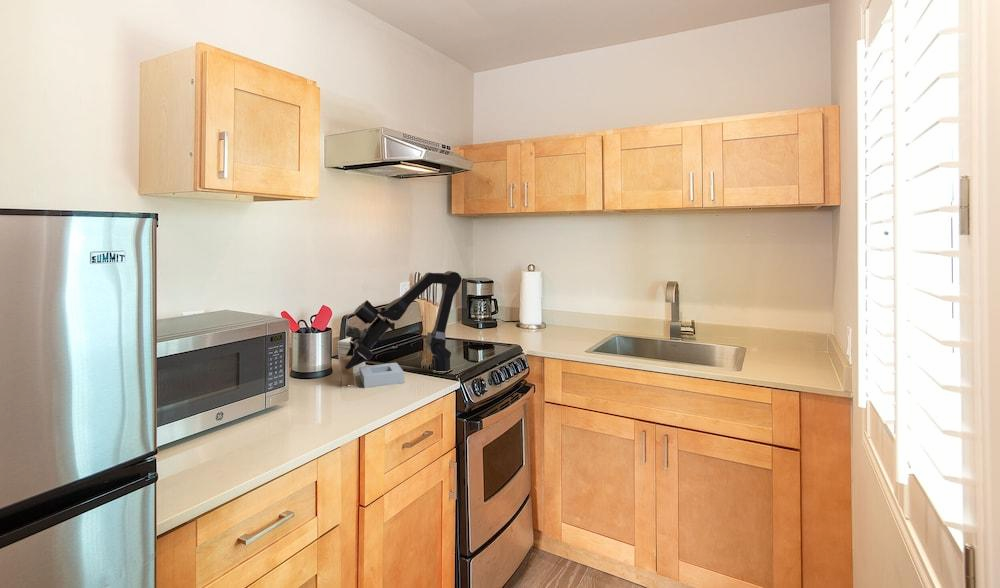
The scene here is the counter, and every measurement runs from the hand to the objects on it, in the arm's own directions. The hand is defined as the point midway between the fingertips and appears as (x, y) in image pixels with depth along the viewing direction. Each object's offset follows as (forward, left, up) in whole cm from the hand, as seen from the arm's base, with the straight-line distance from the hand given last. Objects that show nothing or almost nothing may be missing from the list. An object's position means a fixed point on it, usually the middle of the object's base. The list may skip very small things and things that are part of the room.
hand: (344, 365), depth 172 cm
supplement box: (+12, -13, -7) cm, 19 cm away
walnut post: (0, 0, -7) cm, 7 cm away
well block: (-7, -10, -7) cm, 15 cm away
